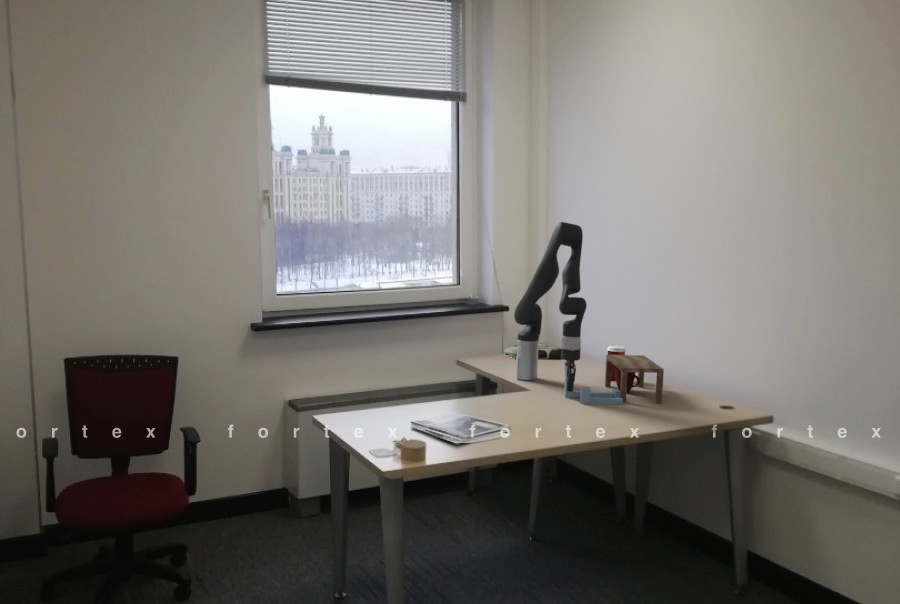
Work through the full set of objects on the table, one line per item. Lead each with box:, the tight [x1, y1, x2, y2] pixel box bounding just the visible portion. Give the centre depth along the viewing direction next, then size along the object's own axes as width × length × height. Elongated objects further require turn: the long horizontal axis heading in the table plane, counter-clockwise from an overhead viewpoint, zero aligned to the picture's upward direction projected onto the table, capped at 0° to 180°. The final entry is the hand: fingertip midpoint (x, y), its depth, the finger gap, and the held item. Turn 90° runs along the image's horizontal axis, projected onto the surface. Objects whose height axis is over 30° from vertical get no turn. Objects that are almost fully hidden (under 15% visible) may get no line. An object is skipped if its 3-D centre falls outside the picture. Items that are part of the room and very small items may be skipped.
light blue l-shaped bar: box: [563, 370, 620, 399], centre depth 311 cm, size 22×5×10 cm, turn 90°
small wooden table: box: [604, 354, 665, 404], centre depth 318 cm, size 16×30×14 cm, turn 1°
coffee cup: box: [606, 345, 627, 382], centre depth 345 cm, size 8×8×15 cm
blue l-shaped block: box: [579, 386, 624, 405], centre depth 302 cm, size 16×3×6 cm, turn 91°
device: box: [503, 342, 561, 360], centre depth 405 cm, size 33×27×5 cm
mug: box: [615, 367, 640, 394], centre depth 322 cm, size 11×8×10 cm
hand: (569, 390), depth 311 cm, fingers closed on light blue l-shaped bar, 3 cm apart
